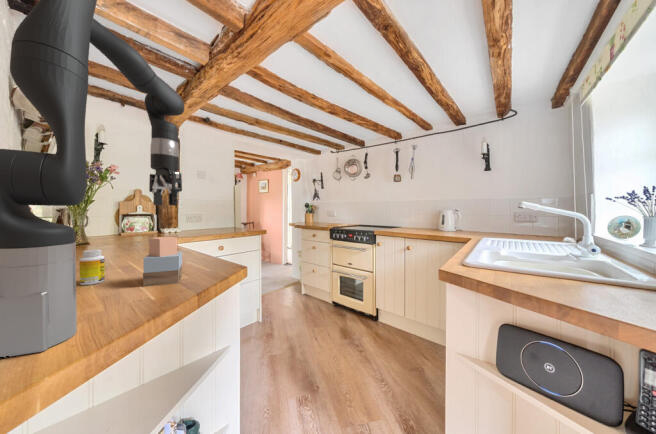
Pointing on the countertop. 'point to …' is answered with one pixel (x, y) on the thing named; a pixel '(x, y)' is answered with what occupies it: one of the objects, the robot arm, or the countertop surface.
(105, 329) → the countertop surface
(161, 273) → the lower block
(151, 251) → the terracotta cube
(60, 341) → the robot arm
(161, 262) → the upper block
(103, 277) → the supplement bottle
